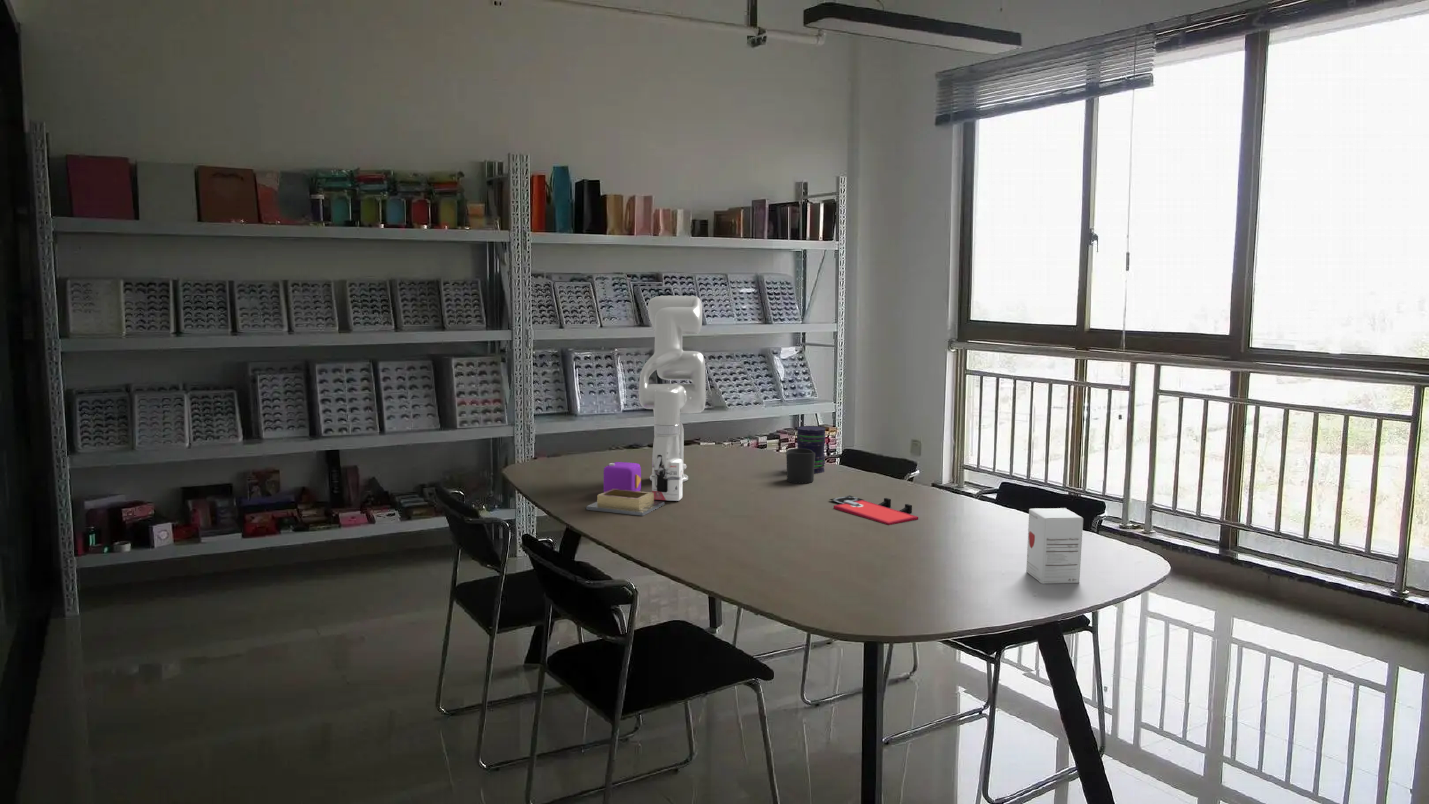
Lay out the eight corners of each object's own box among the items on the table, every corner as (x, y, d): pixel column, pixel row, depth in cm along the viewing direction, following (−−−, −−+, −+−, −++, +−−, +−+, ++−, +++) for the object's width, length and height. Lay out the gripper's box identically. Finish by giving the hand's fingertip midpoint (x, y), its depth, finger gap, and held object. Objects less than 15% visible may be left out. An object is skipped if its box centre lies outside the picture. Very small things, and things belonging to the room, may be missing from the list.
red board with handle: (854, 497, 297) (816, 504, 288) (854, 488, 296) (816, 495, 288) (927, 519, 272) (888, 528, 264) (928, 509, 272) (889, 518, 264)
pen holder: (819, 480, 321) (820, 450, 320) (806, 485, 313) (807, 454, 312) (794, 477, 326) (794, 447, 325) (780, 481, 318) (781, 451, 317)
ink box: (650, 499, 290) (650, 460, 288) (654, 495, 295) (654, 457, 293) (679, 501, 288) (679, 462, 287) (682, 497, 293) (682, 458, 291)
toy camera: (645, 489, 306) (645, 458, 305) (637, 499, 292) (637, 466, 291) (611, 488, 307) (611, 457, 306) (602, 498, 293) (601, 465, 292)
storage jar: (797, 467, 342) (797, 425, 341) (825, 468, 341) (826, 426, 339) (795, 473, 333) (796, 429, 331) (824, 474, 331) (825, 430, 329)
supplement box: (1024, 571, 223) (1027, 507, 221) (1062, 571, 223) (1066, 507, 222) (1041, 584, 214) (1044, 517, 212) (1080, 583, 214) (1084, 517, 213)
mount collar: (609, 499, 291) (609, 486, 291) (664, 505, 285) (664, 491, 284) (586, 509, 279) (586, 496, 278) (642, 515, 272) (642, 501, 271)
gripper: (667, 424, 298) (667, 482, 300) (642, 433, 282) (642, 494, 285) (690, 426, 295) (690, 484, 297) (666, 435, 279) (666, 497, 282)
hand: (667, 488), depth 291 cm, fingers closed on ink box, 5 cm apart
